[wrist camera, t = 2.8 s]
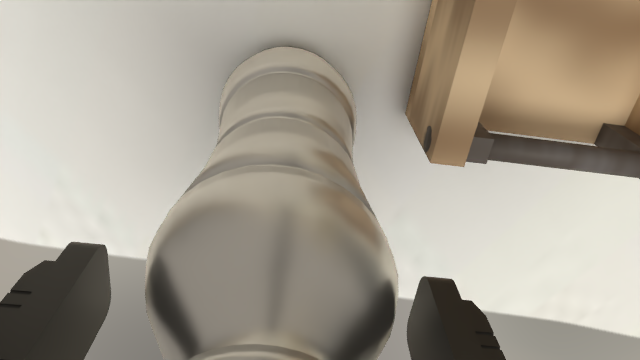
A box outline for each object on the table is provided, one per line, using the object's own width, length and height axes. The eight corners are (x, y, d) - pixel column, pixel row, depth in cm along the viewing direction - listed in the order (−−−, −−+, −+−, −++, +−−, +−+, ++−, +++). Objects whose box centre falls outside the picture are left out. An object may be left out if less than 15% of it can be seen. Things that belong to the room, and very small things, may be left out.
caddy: (482, -214, 19) (550, -268, 14) (777, -158, 20) (944, -188, 15) (405, 113, 25) (430, 163, 20) (629, 142, 27) (708, 195, 21)
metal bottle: (289, 7, 23) (223, 289, 5) (378, 105, 25) (537, 519, 8) (201, 95, 25) (-60, 513, 7) (292, 177, 27) (260, 639, 10)
